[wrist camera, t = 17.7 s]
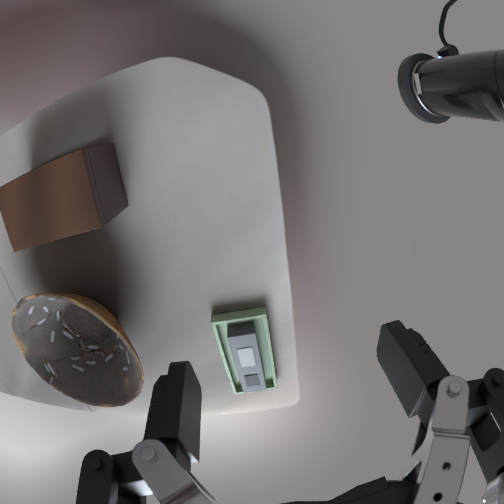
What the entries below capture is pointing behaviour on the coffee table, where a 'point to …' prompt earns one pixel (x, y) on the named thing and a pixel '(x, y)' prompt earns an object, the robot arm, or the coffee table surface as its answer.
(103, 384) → the bowl
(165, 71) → the coffee table surface
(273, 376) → the tray
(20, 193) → the brown wooden open box
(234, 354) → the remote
